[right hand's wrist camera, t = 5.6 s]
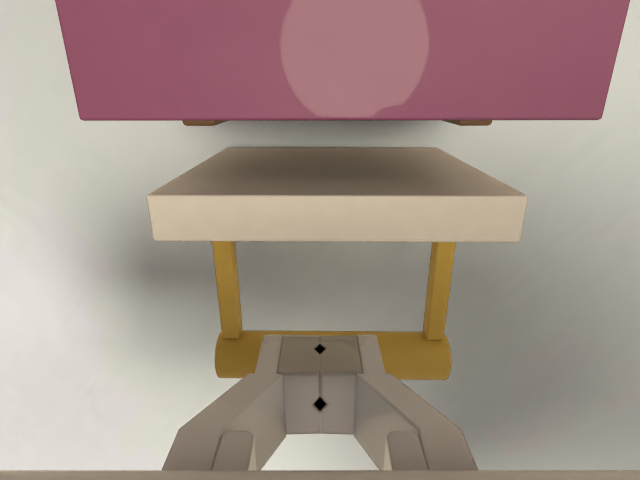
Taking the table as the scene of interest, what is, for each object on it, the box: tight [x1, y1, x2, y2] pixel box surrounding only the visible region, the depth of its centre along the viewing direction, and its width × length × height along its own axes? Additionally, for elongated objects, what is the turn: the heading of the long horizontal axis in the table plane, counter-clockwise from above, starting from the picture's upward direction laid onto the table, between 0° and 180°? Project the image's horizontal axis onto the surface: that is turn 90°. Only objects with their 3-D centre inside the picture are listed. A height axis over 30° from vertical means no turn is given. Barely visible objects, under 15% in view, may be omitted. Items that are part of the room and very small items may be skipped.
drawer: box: [147, 120, 528, 380], centre depth 12 cm, size 22×9×8 cm, turn 0°
